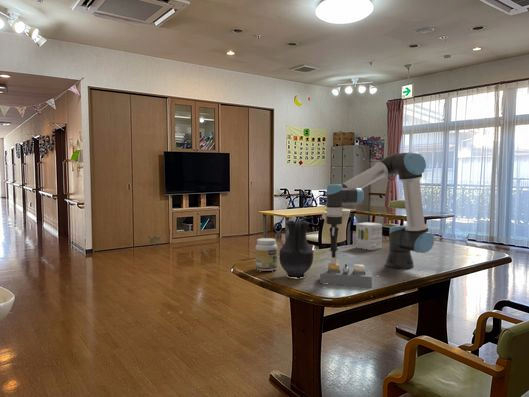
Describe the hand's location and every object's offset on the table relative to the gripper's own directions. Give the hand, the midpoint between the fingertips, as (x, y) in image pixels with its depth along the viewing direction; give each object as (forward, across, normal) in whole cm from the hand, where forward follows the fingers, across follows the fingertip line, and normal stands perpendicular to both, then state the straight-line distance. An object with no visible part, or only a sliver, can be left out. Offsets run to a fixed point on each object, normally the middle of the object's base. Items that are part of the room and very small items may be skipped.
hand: (333, 263), depth 194 cm
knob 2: (+8, 0, +12) cm, 14 cm away
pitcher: (+9, -2, -19) cm, 21 cm away
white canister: (+9, -95, +17) cm, 97 cm away
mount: (+9, 0, +6) cm, 11 cm away
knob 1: (+8, 0, 0) cm, 8 cm away
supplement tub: (+9, -15, -38) cm, 42 cm away
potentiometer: (+4, +2, +6) cm, 8 cm away
